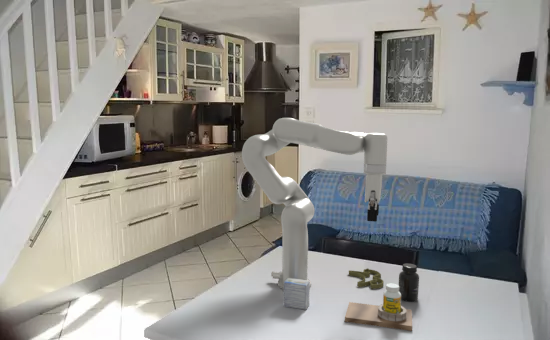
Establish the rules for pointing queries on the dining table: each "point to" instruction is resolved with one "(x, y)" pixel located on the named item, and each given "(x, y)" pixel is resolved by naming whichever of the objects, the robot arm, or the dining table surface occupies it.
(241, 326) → the dining table surface
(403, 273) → the supplement bottle
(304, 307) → the medicine box
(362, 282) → the cookie cutter
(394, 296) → the supplement bottle
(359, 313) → the collar board
